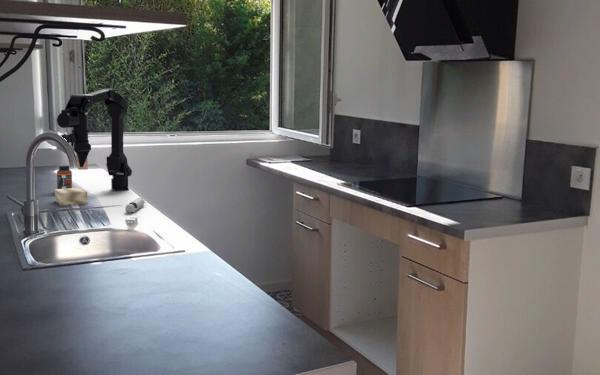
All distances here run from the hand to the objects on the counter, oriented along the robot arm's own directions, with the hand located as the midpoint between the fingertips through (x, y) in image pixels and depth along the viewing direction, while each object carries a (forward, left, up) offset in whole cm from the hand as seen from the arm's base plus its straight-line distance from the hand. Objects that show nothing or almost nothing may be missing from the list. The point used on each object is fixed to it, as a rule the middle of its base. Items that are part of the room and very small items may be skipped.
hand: (80, 166), depth 253 cm
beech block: (+4, +4, -14) cm, 15 cm away
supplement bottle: (+5, -20, -14) cm, 25 cm away
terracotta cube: (0, 0, -1) cm, 1 cm away
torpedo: (-18, +23, -14) cm, 32 cm away
